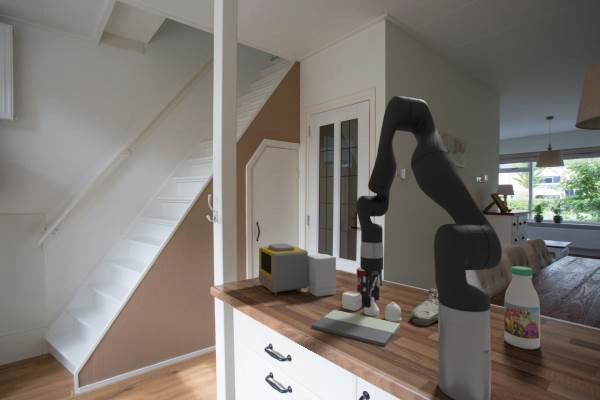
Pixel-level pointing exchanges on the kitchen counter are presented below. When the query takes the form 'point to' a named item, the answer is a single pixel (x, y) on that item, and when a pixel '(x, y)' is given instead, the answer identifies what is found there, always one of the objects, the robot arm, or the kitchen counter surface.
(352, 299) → the container set
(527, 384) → the kitchen counter surface
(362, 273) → the soda can
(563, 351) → the kitchen counter surface
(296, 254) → the grey yellow box
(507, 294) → the milk bottle
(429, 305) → the elongated rock
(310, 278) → the supplement box
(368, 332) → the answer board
